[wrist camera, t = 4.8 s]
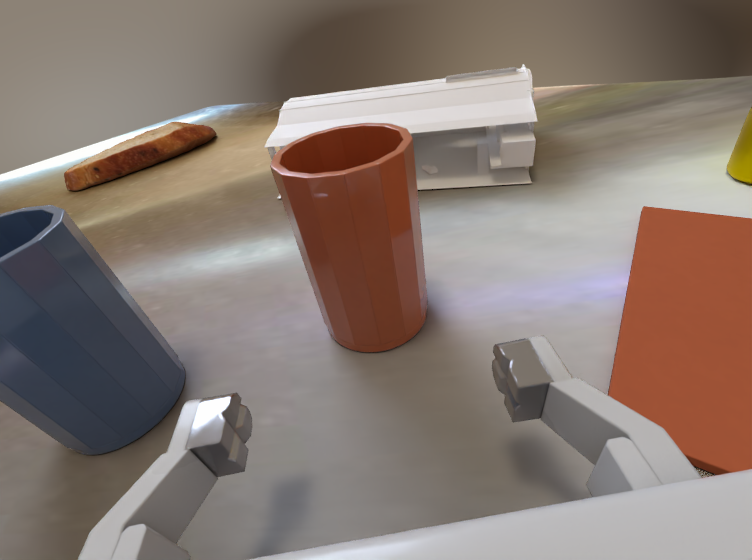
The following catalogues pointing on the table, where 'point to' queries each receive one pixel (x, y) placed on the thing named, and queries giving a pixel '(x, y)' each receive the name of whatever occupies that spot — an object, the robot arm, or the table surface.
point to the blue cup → (76, 339)
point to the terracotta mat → (690, 335)
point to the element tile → (742, 154)
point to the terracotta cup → (358, 230)
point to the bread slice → (137, 154)
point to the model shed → (436, 124)
